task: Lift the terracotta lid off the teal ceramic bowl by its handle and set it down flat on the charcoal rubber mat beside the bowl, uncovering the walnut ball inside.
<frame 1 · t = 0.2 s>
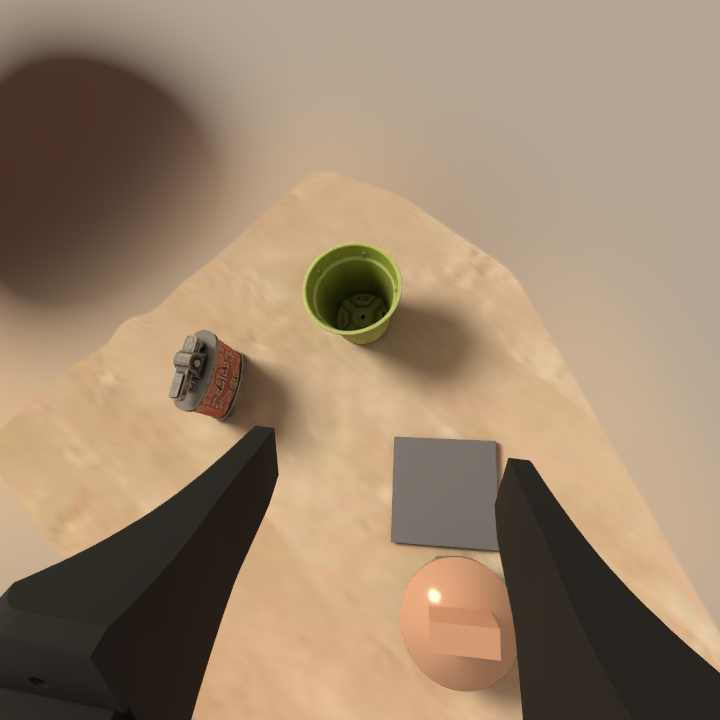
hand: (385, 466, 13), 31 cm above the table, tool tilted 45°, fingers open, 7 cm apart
mat: (443, 490, 41), on the table
plant pot: (363, 320, 47), on the table
lighter: (229, 385, 47), on the table
lid: (458, 618, 35), point 4 cm above the table, touching bowl
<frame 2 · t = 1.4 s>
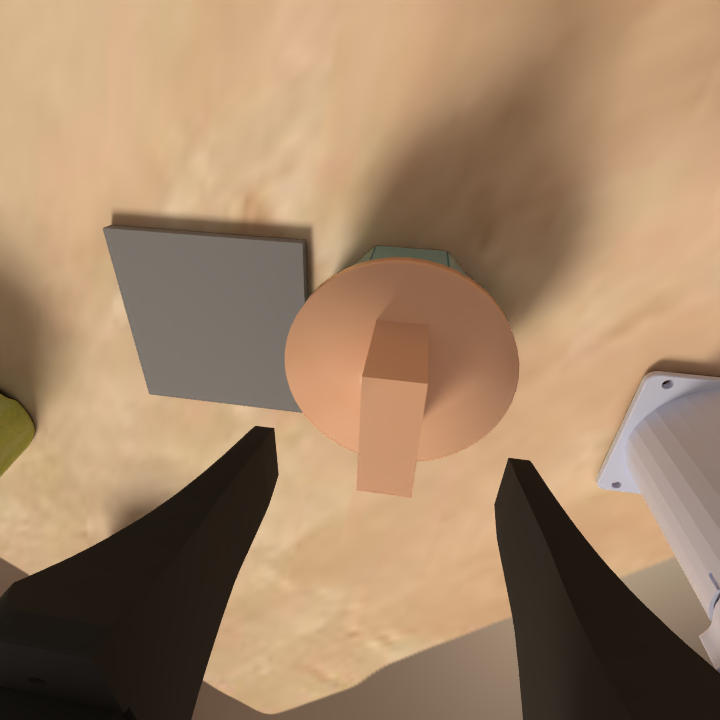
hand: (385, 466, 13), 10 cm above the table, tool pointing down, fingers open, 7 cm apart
mat: (220, 324, 23), on the table
lid: (398, 366, 18), point 4 cm above the table, touching bowl
bowl: (403, 325, 21), on the table
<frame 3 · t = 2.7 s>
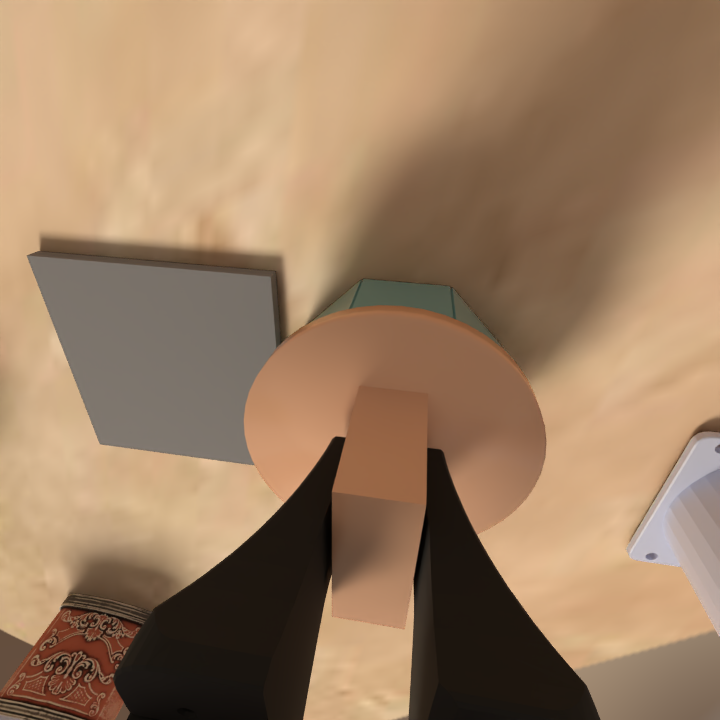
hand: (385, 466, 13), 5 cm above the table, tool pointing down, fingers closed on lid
mat: (177, 367, 19), on the table
lighter: (118, 609, 33), on the table
lid: (389, 436, 14), point 4 cm above the table, touching bowl, gripper
bowl: (397, 372, 18), on the table
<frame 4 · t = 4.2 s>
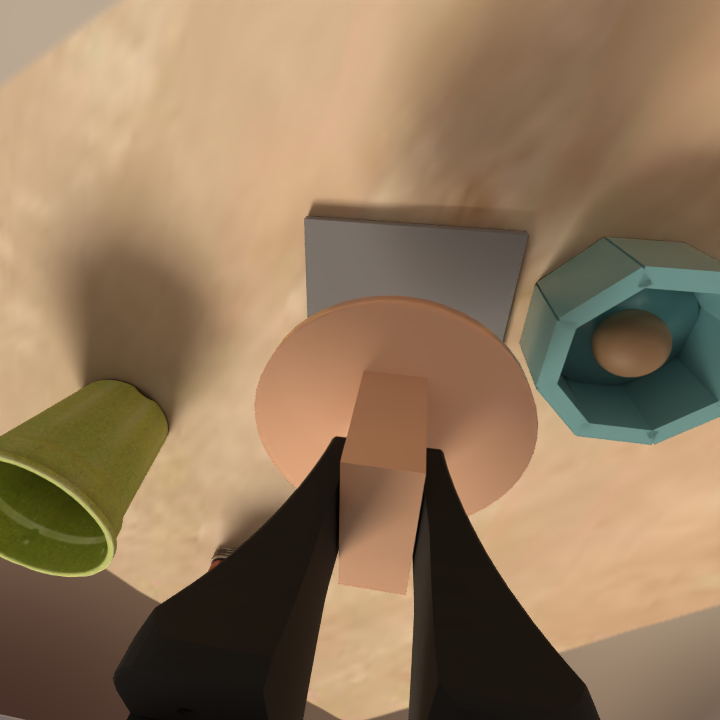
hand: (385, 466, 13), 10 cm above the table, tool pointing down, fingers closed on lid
mat: (403, 321, 22), on the table
ball: (617, 328, 20), point 1 cm above the table, touching bowl
plant pot: (129, 413, 29), on the table
lid: (391, 420, 15), point 8 cm above the table, touching gripper
bowl: (612, 322, 20), on the table
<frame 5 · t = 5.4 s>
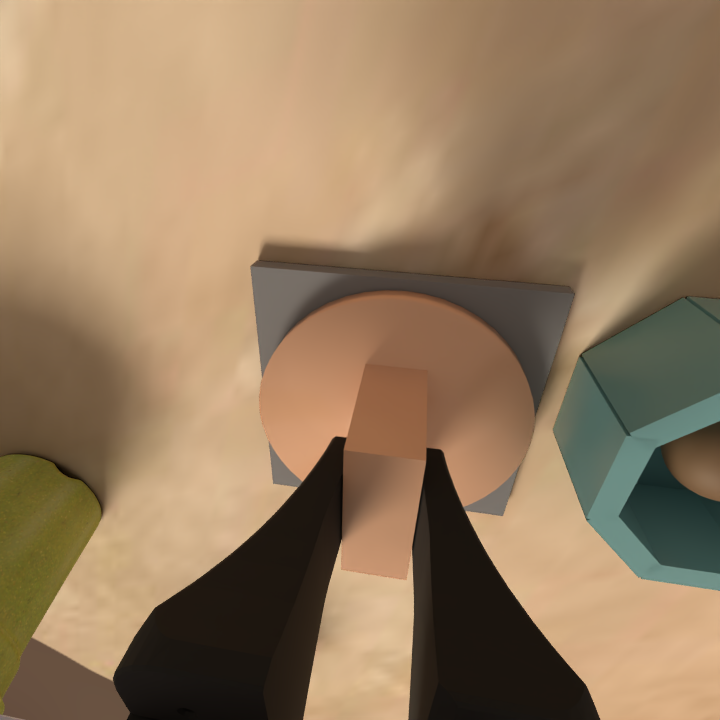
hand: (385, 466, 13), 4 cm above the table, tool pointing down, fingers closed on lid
mat: (394, 398, 16), on the table
ball: (695, 419, 14), point 1 cm above the table, touching bowl
plant pot: (53, 490, 23), on the table
lid: (392, 412, 15), point 1 cm above the table, touching gripper
bowl: (685, 408, 14), on the table
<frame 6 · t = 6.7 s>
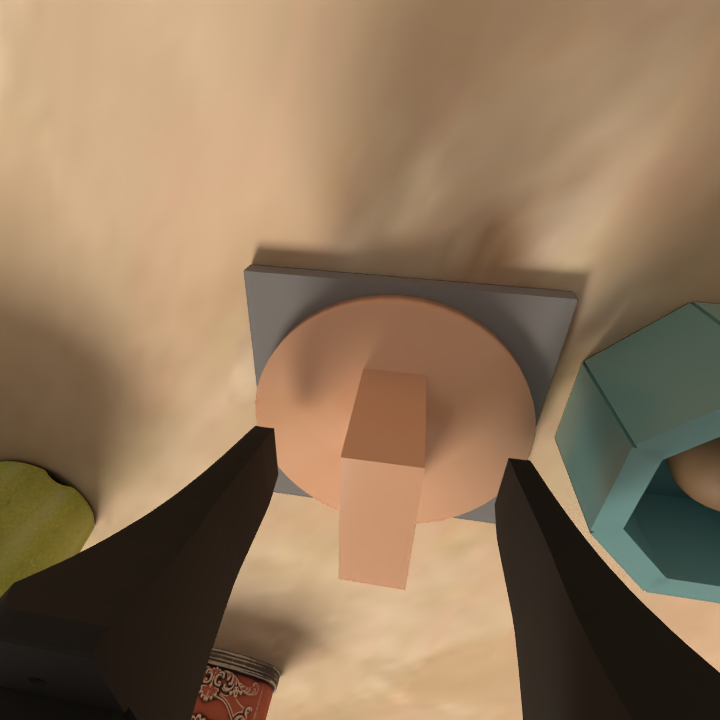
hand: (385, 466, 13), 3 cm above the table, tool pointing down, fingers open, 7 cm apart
mat: (392, 405, 16), on the table
ball: (701, 427, 14), point 1 cm above the table, touching bowl
plant pot: (45, 497, 22), on the table
lighter: (225, 658, 29), on the table
lid: (390, 417, 15), point 1 cm above the table, touching mat
bowl: (691, 416, 14), on the table
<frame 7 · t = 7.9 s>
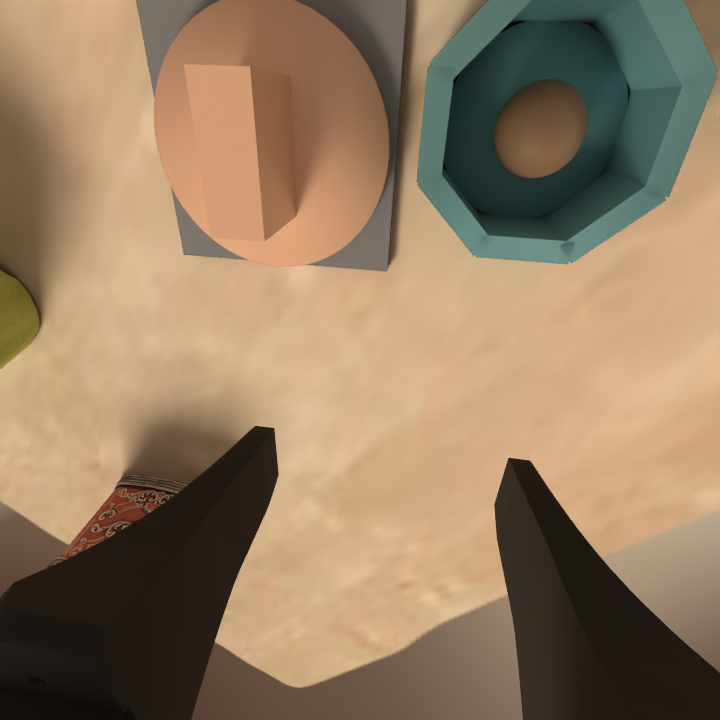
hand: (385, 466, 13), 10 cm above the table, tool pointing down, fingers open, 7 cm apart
mat: (279, 144, 18), on the table
ball: (530, 129, 16), point 1 cm above the table, touching bowl
lighter: (173, 493, 32), on the table
lid: (275, 148, 17), point 1 cm above the table, touching mat
bowl: (527, 128, 16), on the table
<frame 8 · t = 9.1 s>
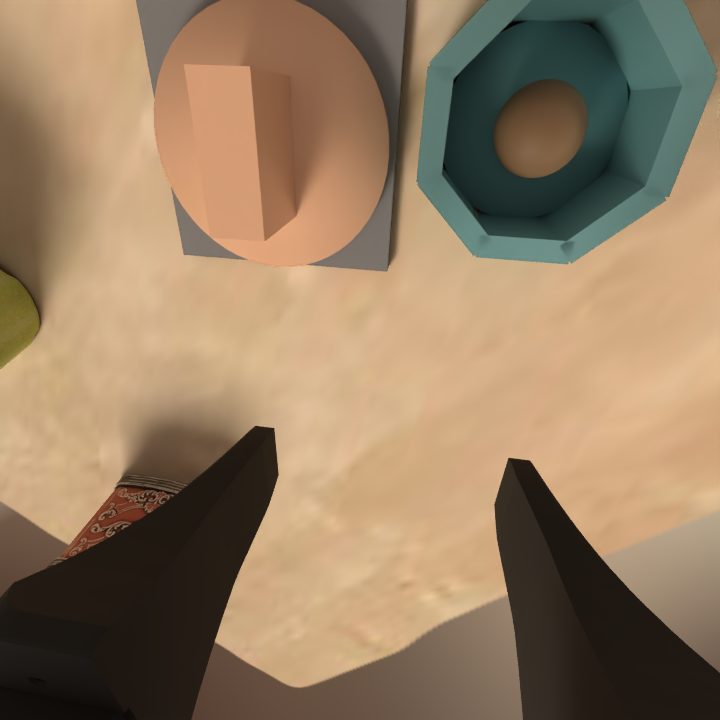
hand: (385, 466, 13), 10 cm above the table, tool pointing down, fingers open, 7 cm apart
mat: (279, 144, 18), on the table
ball: (530, 129, 16), point 1 cm above the table, touching bowl
lighter: (173, 493, 32), on the table
lid: (275, 148, 17), point 1 cm above the table, touching mat
bowl: (527, 128, 16), on the table
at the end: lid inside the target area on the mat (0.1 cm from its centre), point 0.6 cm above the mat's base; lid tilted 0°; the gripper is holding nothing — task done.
